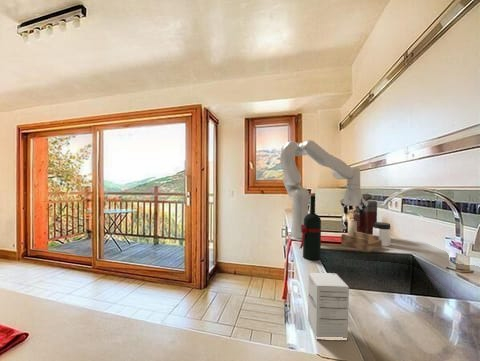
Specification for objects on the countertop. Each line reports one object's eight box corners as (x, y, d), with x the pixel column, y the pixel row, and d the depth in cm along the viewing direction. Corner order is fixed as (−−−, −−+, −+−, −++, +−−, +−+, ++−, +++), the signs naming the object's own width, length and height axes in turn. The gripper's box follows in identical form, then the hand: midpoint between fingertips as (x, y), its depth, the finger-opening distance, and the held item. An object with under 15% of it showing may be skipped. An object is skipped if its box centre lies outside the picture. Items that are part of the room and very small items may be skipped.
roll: (346, 238, 144) (346, 220, 144) (350, 237, 147) (350, 219, 146) (353, 240, 140) (354, 221, 139) (358, 239, 143) (358, 220, 142)
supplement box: (307, 320, 59) (307, 271, 59) (336, 321, 59) (337, 272, 59) (315, 341, 52) (316, 285, 52) (348, 342, 52) (350, 286, 52)
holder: (341, 244, 129) (341, 234, 129) (354, 241, 137) (354, 231, 137) (369, 252, 117) (369, 240, 116) (381, 247, 125) (381, 236, 125)
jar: (387, 247, 125) (388, 225, 125) (371, 244, 131) (371, 223, 131) (391, 244, 131) (392, 223, 131) (375, 241, 137) (376, 221, 137)
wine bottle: (295, 256, 109) (296, 192, 108) (313, 254, 112) (314, 192, 112) (304, 262, 101) (306, 193, 101) (324, 259, 104) (325, 193, 104)
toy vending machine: (351, 236, 150) (352, 193, 150) (364, 234, 154) (365, 192, 154) (364, 239, 142) (365, 194, 141) (376, 237, 146) (377, 193, 146)
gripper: (337, 187, 148) (337, 213, 148) (364, 187, 134) (364, 217, 134) (343, 186, 152) (343, 212, 152) (370, 187, 138) (370, 216, 138)
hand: (353, 214), depth 143 cm, fingers open, 9 cm apart
